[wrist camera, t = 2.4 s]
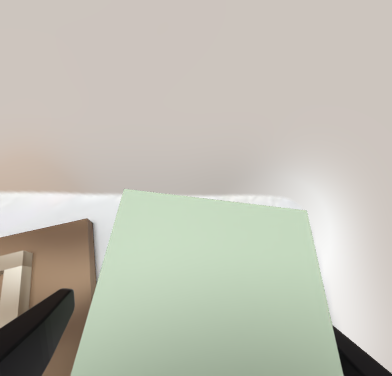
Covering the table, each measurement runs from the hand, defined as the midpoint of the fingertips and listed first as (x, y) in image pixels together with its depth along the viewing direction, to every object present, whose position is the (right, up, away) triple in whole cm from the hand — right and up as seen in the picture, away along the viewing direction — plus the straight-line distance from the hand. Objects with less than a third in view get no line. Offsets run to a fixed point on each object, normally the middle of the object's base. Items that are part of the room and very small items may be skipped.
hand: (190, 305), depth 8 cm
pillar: (-1, -4, +7) cm, 8 cm away
